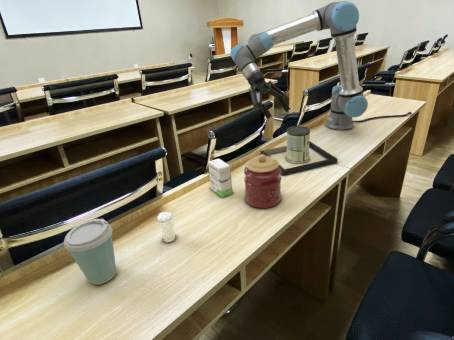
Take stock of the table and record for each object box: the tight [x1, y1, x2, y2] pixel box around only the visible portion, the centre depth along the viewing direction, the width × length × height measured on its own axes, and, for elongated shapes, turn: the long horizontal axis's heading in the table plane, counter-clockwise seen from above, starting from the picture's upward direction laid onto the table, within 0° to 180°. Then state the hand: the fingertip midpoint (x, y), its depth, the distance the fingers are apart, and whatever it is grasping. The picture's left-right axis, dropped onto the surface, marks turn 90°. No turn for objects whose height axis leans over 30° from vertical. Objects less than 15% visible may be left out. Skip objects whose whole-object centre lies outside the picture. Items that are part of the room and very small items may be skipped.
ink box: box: [207, 158, 234, 198], centre depth 115 cm, size 9×5×12 cm, turn 38°
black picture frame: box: [259, 141, 339, 176], centre depth 141 cm, size 27×23×2 cm
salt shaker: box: [156, 211, 176, 243], centre depth 91 cm, size 4×5×10 cm
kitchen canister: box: [243, 154, 282, 209], centre depth 108 cm, size 13×13×18 cm
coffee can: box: [286, 125, 311, 164], centre depth 138 cm, size 10×10×14 cm
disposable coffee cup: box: [63, 218, 117, 286], centre depth 77 cm, size 11×11×15 cm
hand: (279, 114), depth 138 cm, fingers open, 13 cm apart
